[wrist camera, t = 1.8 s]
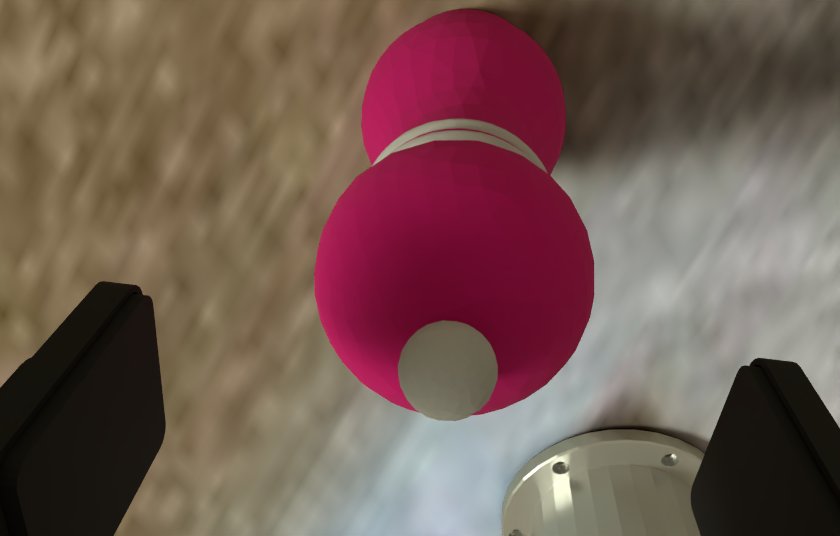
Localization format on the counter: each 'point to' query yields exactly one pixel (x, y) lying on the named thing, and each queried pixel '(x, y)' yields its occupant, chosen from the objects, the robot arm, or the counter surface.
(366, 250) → the magenta skittle
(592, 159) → the counter surface
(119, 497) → the robot arm
